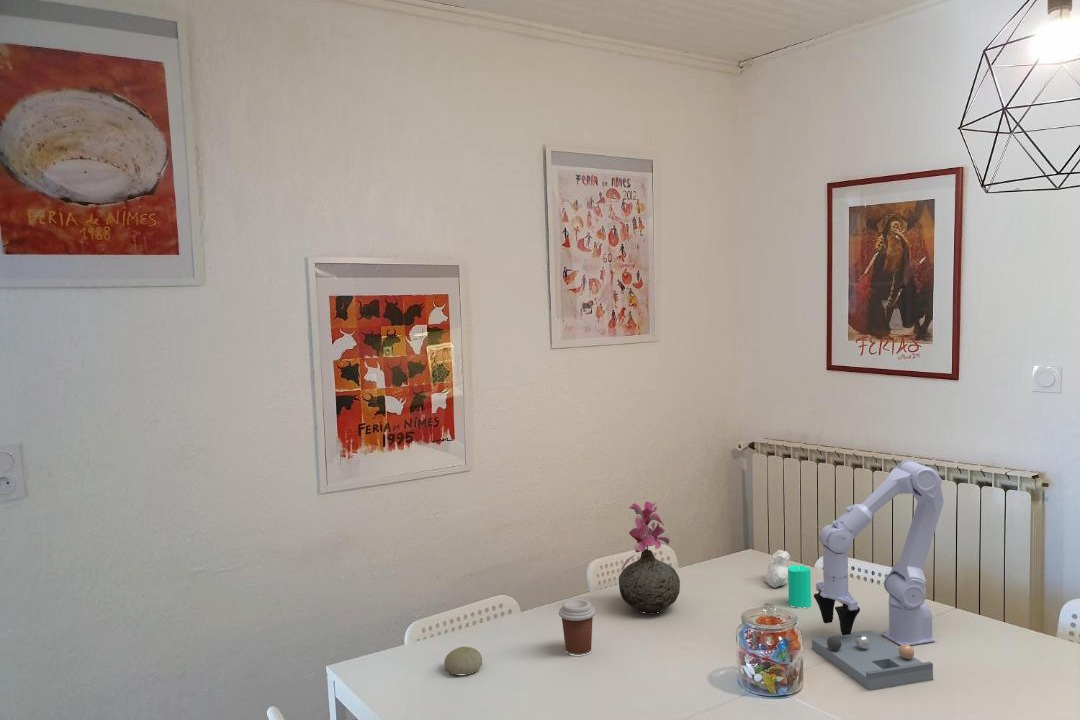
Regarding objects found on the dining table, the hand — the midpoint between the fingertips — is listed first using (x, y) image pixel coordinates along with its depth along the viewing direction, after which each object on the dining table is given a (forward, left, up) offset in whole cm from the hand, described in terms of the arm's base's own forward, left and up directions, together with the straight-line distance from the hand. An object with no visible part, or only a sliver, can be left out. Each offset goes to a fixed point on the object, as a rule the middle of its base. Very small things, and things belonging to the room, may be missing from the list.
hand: (836, 628), depth 193 cm
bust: (-7, -41, -4) cm, 42 cm away
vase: (+37, -34, -4) cm, 50 cm away
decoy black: (+7, +9, +1) cm, 11 cm away
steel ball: (0, +10, +1) cm, 10 cm away
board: (0, +13, -3) cm, 13 cm away
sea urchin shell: (+92, -14, -4) cm, 93 cm away
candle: (-4, -24, -4) cm, 25 cm away
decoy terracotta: (-6, +18, +1) cm, 19 cm away
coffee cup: (+63, -15, -4) cm, 64 cm away
